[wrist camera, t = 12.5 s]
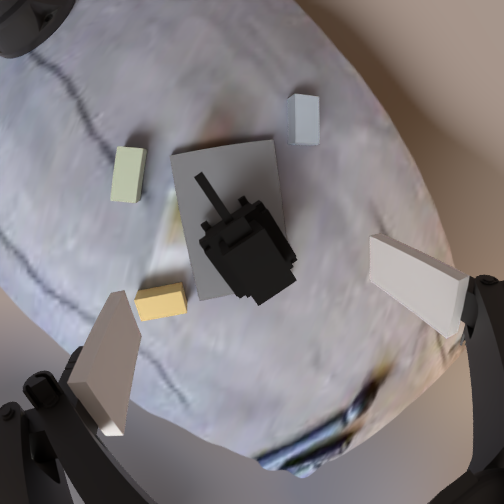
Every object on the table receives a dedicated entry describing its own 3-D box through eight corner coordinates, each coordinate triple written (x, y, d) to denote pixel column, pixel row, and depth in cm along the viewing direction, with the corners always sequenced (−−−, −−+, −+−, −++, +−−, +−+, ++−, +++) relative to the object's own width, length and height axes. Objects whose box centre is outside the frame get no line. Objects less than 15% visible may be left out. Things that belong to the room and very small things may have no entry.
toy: (225, 154, 31) (238, 149, 21) (286, 252, 36) (319, 283, 26) (169, 191, 31) (159, 202, 21) (237, 286, 36) (252, 327, 26)
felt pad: (170, 156, 31) (169, 155, 30) (270, 140, 32) (273, 139, 31) (199, 296, 36) (199, 301, 35) (288, 277, 38) (290, 281, 37)
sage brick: (123, 148, 29) (117, 146, 27) (147, 150, 30) (143, 148, 27) (117, 197, 31) (110, 200, 28) (140, 199, 32) (135, 203, 29)
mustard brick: (144, 310, 36) (141, 321, 33) (138, 290, 35) (134, 300, 32) (187, 302, 37) (187, 312, 34) (181, 281, 36) (181, 291, 33)
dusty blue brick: (287, 98, 31) (295, 93, 29) (309, 101, 32) (318, 96, 29) (287, 144, 33) (295, 142, 30) (309, 145, 34) (319, 144, 31)
